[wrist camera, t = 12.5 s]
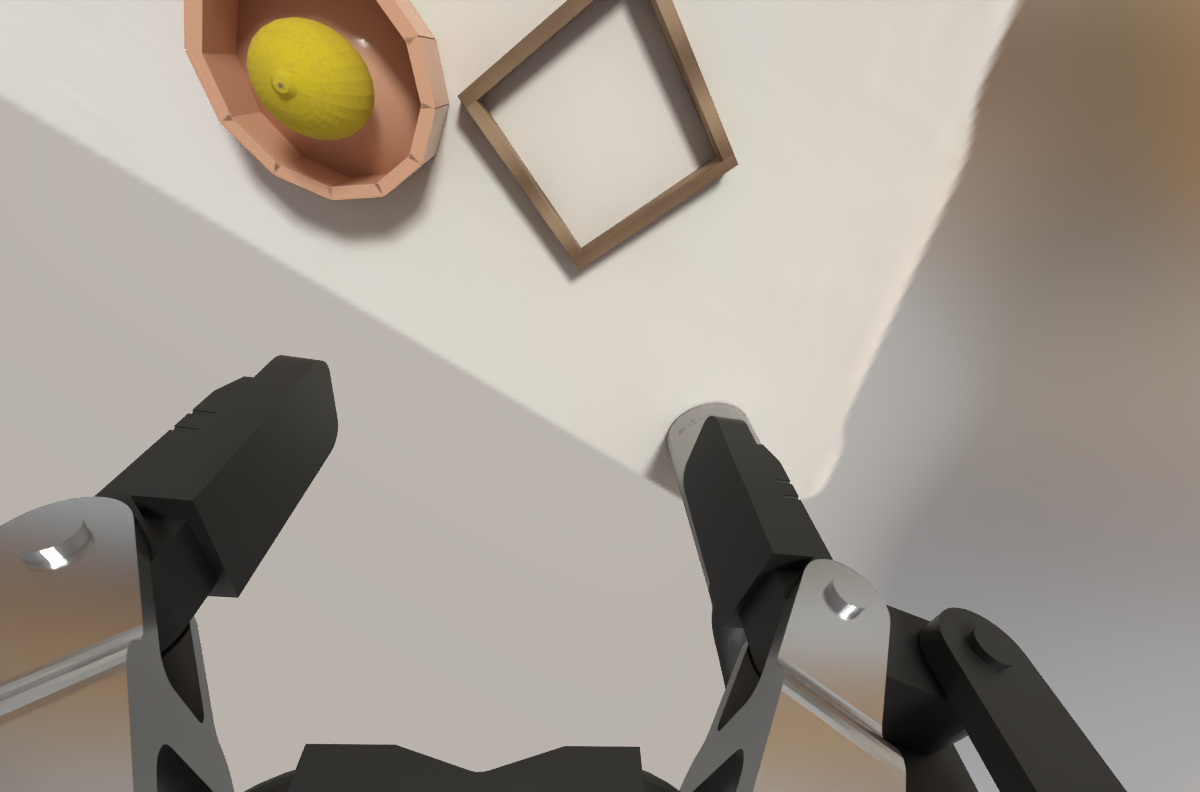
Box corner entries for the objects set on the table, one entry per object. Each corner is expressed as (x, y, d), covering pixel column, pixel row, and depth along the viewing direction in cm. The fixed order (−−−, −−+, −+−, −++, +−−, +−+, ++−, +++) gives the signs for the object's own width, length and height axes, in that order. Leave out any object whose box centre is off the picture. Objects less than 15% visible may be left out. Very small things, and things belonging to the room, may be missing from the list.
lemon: (303, 120, 29) (230, 135, 23) (287, 11, 26) (197, -8, 19) (393, 140, 30) (347, 160, 24) (389, 37, 27) (334, 28, 20)
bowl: (485, 112, 30) (476, 118, 27) (357, 220, 34) (336, 236, 30) (323, -125, 23) (285, -156, 20) (183, 40, 27) (133, 37, 24)
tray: (730, 160, 33) (738, 164, 31) (578, 261, 37) (579, 269, 35) (640, -60, 26) (644, -68, 24) (462, 94, 29) (457, 96, 28)
